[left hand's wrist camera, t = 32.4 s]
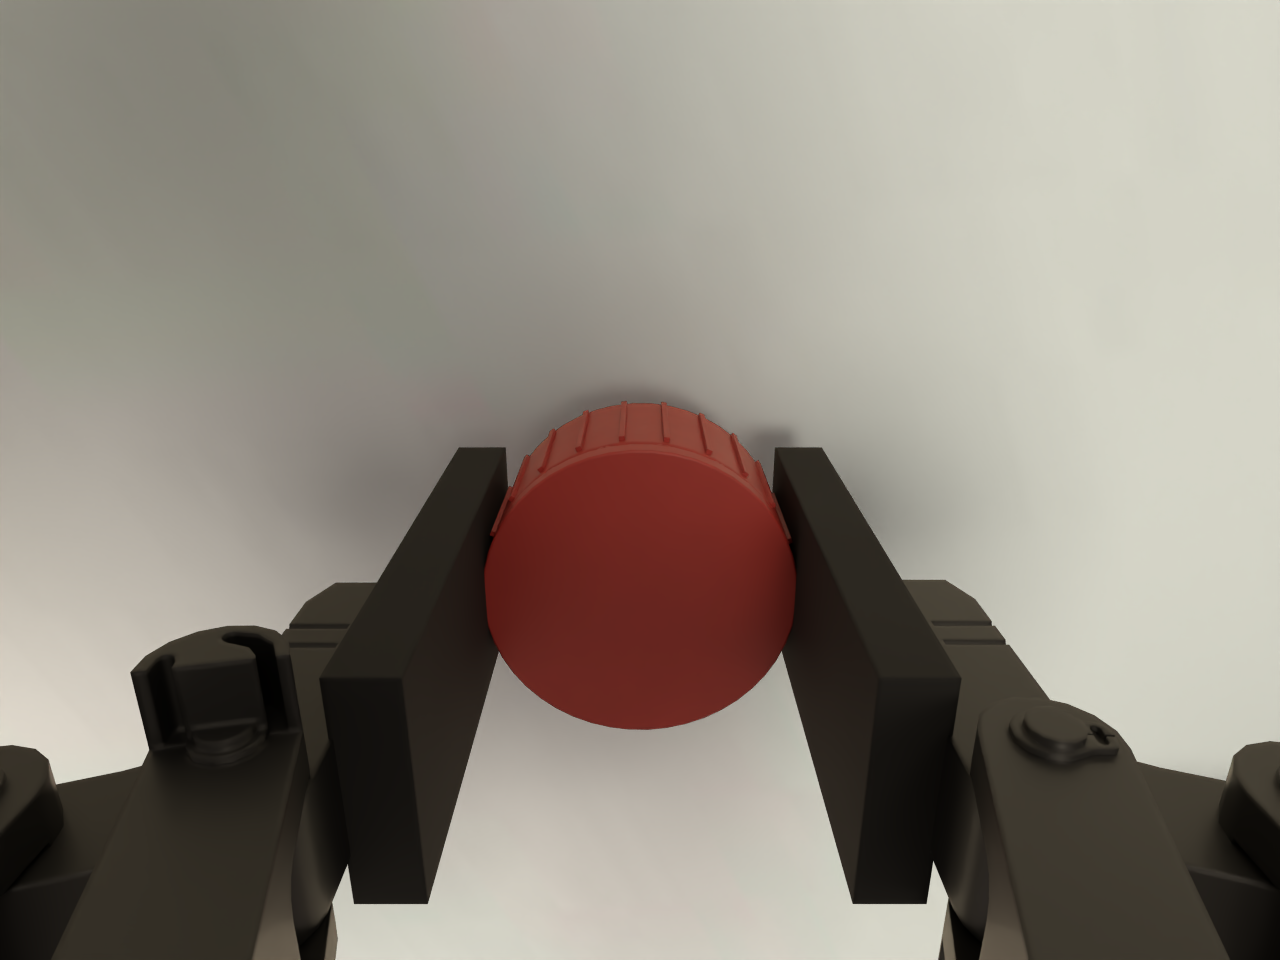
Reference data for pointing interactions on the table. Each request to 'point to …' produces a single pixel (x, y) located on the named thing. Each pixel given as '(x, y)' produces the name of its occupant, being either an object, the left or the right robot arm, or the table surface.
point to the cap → (640, 569)
